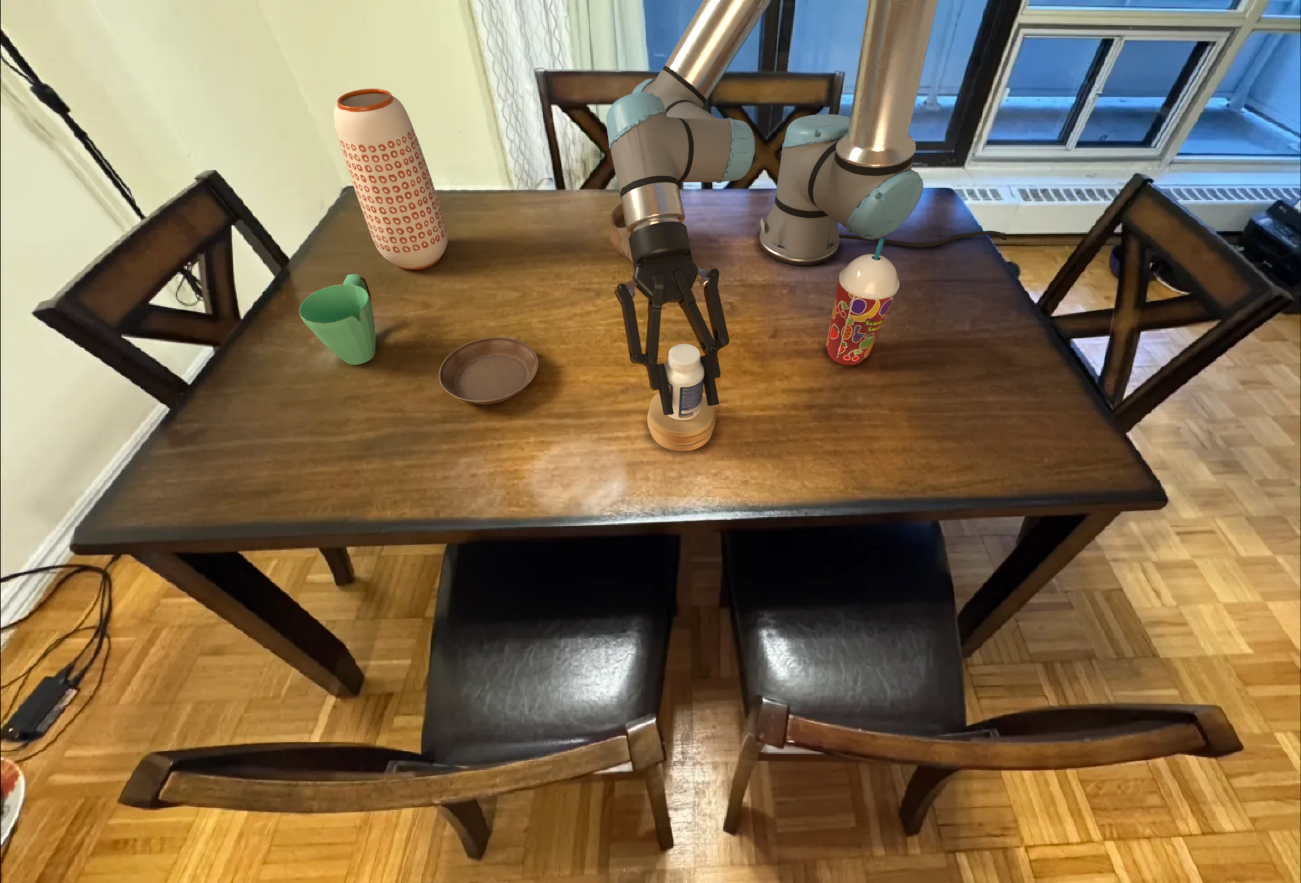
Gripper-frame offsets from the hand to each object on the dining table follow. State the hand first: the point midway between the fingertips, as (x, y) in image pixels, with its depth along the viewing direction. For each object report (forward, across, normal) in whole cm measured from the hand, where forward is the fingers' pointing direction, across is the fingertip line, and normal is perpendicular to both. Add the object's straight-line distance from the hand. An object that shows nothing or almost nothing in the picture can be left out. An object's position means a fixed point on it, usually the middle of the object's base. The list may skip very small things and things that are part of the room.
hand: (691, 409), depth 76 cm
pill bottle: (0, 0, -5) cm, 5 cm away
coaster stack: (+3, 0, -8) cm, 8 cm away
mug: (-20, +44, -31) cm, 57 cm away
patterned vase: (-37, +35, -48) cm, 70 cm away
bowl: (-29, -8, -39) cm, 49 cm away
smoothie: (-3, -30, -13) cm, 33 cm away
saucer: (-10, +25, -20) cm, 34 cm away
